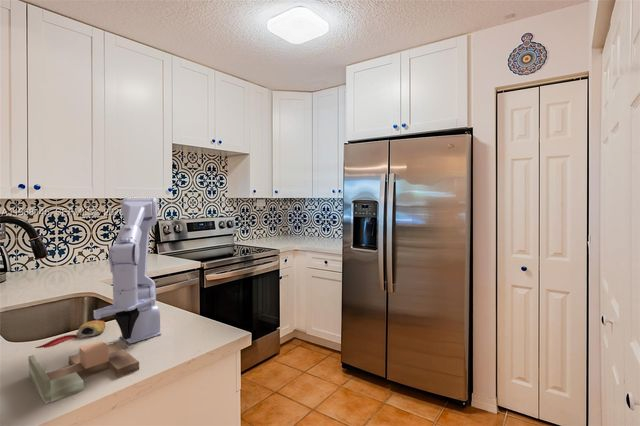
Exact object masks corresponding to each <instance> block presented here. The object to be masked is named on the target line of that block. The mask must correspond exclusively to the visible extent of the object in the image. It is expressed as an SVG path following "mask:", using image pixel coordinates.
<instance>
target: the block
mask: <svg viewBox="0 0 640 426" xmlns="http://www.w3.org/2000/svg"><path fill="white" fill-rule="evenodd" d="M108 345H109V344H107V343H105V342H104V341H103V340H100V341H97V342H94V343H93V342H92V343H90V344H87V345H83V346H80V347H79V353H80V363H81V364H82V365H83V366H84V368H85V369H87V368H90V367H93V366H96V365H99V364H102V363H105V362H108V361H109V357H108Z"/></svg>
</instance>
